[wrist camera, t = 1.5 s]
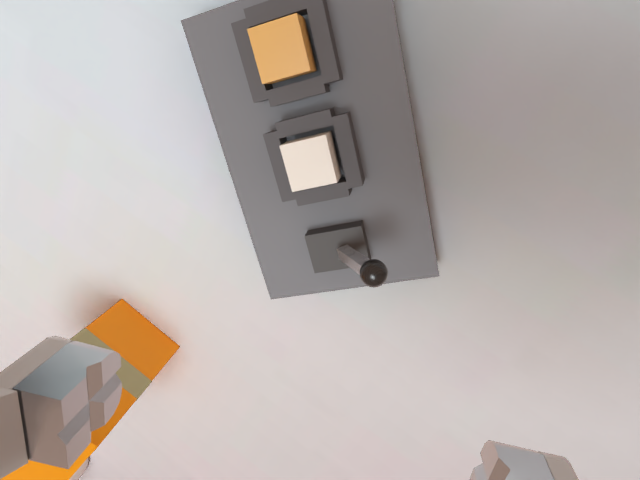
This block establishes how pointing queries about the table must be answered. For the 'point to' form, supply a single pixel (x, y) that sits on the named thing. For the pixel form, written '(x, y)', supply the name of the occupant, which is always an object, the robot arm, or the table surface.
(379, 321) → the table surface
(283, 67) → the amber button
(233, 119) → the control panel
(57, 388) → the robot arm
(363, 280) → the toggle lever
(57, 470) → the orange juice
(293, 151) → the cream button
